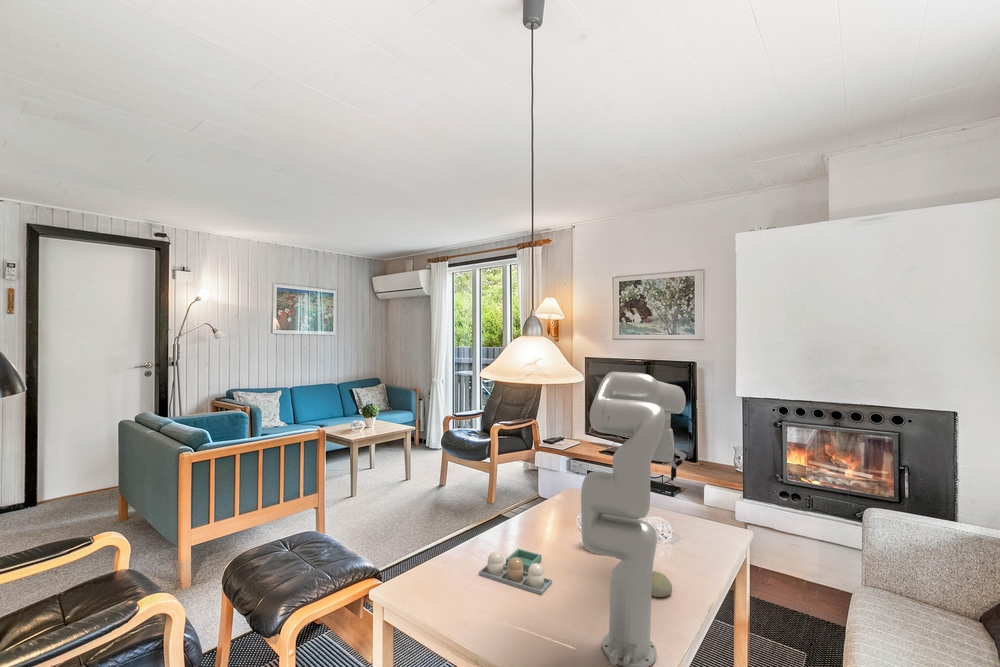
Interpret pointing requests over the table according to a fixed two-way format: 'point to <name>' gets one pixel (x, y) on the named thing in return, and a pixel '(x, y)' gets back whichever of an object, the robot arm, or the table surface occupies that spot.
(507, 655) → the table surface
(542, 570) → the cream egg right
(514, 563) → the brown egg
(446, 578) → the table surface
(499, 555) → the cream egg left
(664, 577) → the sea urchin shell
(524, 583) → the egg carton
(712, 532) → the table surface
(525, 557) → the egg holder
